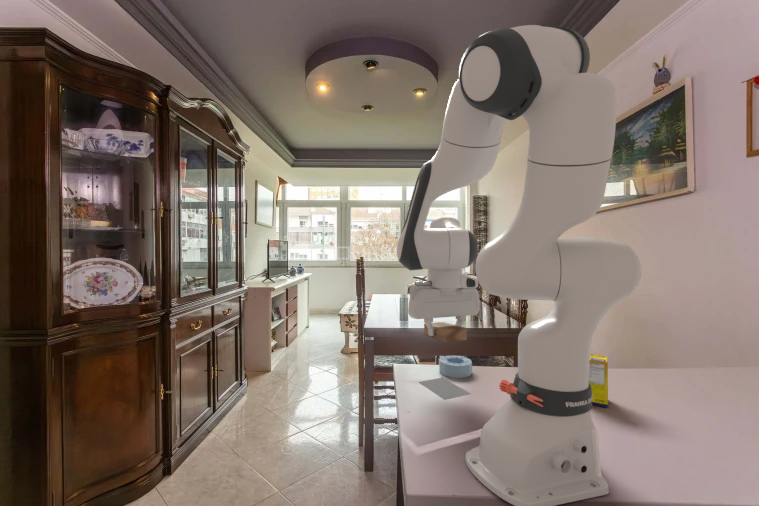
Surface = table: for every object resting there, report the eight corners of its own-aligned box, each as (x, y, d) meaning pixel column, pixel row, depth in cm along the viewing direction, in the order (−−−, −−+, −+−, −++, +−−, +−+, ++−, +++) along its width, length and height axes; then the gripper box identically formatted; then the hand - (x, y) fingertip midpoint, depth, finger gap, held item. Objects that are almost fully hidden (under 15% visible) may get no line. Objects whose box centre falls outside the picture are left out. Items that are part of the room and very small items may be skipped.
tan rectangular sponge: (446, 342, 82) (445, 330, 82) (424, 334, 91) (424, 323, 91) (466, 340, 84) (466, 328, 84) (443, 332, 93) (443, 321, 94)
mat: (444, 403, 81) (444, 399, 81) (418, 385, 92) (418, 382, 92) (470, 397, 84) (470, 393, 84) (442, 380, 95) (442, 377, 95)
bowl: (452, 383, 93) (452, 367, 93) (433, 372, 102) (433, 358, 102) (478, 378, 97) (478, 362, 97) (458, 368, 106) (458, 354, 106)
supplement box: (607, 399, 84) (607, 355, 84) (608, 408, 78) (608, 361, 78) (579, 393, 87) (579, 351, 87) (578, 402, 82) (578, 357, 82)
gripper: (416, 282, 81) (416, 340, 80) (483, 280, 89) (483, 333, 89) (403, 280, 87) (403, 335, 86) (467, 279, 95) (467, 329, 95)
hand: (444, 334), depth 88 cm, fingers closed on tan rectangular sponge, 6 cm apart
